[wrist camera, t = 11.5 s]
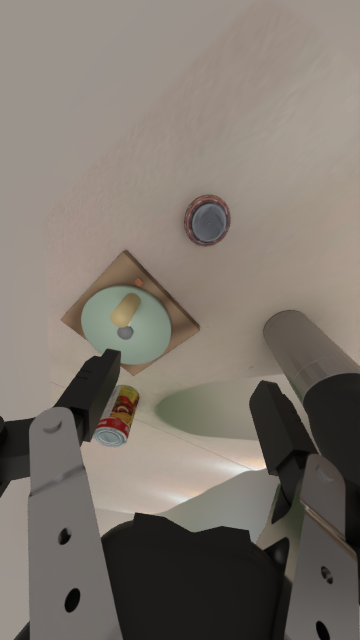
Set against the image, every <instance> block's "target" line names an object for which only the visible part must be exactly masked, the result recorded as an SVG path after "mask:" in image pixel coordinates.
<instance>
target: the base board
mask: <svg viewBox="0 0 360 640" xmlns="http://www.w3.org/2000/svg"><path fill="white" fill-rule="evenodd" d="M112 285H132V286H136V287H139V288H141V289H144V290H146V291H148V292H149V293H151V294H152V295H154V296H155V297H156V298H157V299H159V300H160V302H161V303H162V304H163V305H164V307H165V308H166V310H167V312H168V313H169V316H170V319H171V324H172V331H171V337H170V342H169V344H168V347H167V348H166V350H165V351H164V353H163V354H162V355H161V356H159V357H158V358H156V359H155V360H153V361H151V362H148V363H144V364H138V365H129V364H123V363H120V366H121V367H123V368H124V369H125V370H127V371H128V372H129V373H130V374H132V375H133V376H135V375H136V374H138V373H139V372H140V371H142V370H143V369H145V368H146V367H148V366H149V365H151V364H152V363H154V362H155V361H156V360H158V359H159V358H161V357H162V356H164V355H165V354H167V353H168V352H169V351H171V350H172V349H174V348H175V347H177V346H178V345H180V344H181V343H182V342H184V341H185V340H187V339H188V338H190V337H191V336H193V335H194V334H195V333H197V332H198V331H200V328H199V325H198V324H197V323H196V322H195V321H194V320H193V319H192V318H191V316H190V315H189V314H188V313H187V312H186V311H185V310H184V309H183V308H182V307H181V306H180V305H179V304H178V303H177V302H176V301H175V300H174V299H173V298H172V297H171V296H170V295H169V294H168V293H167V292H166V291H165V289H164V288H163V287H162V286H161V285H160V284H159V283H158V282H157V281H156V280H155V279H154V278H153V277H152V276H151V275H150V274H149V273H148V272H147V271H146V270H145V269H144V268H143V267H142V266H141V265H140V264H139V262H138V261H137V260H136V259H135V258H134V257H133V256H132V255H131V254H130V253H129V252H128V251H127V250H125V251H123V252H122V253H121V254H120V255H119V256H118V257H117V259H116V260H115V261H114V262H113V263H112V264H111V265H110V266H109V267H108V268H107V269H106V271H105V272H104V273H103V274H102V275H101V276H100V277H99V278H98V279H97V280H96V281H95V282H94V284H93V285H92V286H91V287H90V288H89V289H88V290H87V291H86V292H85V293H84V294H83V296H82V297H81V298H80V299H79V300H78V301H77V302H76V303H75V304H74V305H73V306H72V308H71V309H70V310H69V311H68V312H67V313H66V314H65V315H64V316H63V317H62V318H61V319H60V320H61V321H62V322H64V323H65V324H66V325H68V326H69V327H70V328H72V329H73V330H74V331H75V332H77V333H78V334H79V335H81V336H82V337H83V338H85V339H86V340H87V338H86V336H85V334H84V332H83V329H82V324H81V316H82V311H83V308H84V306H85V304H86V303H87V302H88V300H89V299H90V298H91V297H92V296H94V295H95V294H96V293H97V292H99V291H100V290H102V289H104V288H106V287H109V286H112ZM87 341H88V340H87Z"/></svg>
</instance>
